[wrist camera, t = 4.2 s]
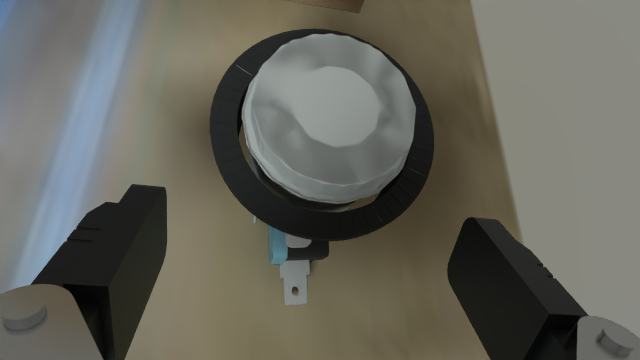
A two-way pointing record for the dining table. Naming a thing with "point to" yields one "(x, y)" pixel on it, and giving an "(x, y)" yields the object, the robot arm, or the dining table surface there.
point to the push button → (319, 142)
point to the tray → (336, 4)
